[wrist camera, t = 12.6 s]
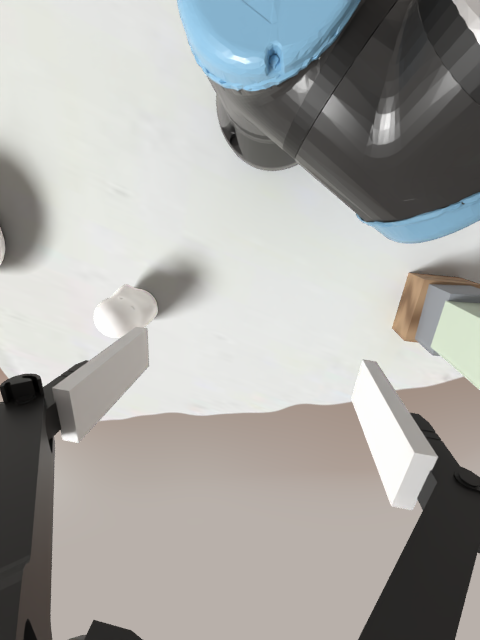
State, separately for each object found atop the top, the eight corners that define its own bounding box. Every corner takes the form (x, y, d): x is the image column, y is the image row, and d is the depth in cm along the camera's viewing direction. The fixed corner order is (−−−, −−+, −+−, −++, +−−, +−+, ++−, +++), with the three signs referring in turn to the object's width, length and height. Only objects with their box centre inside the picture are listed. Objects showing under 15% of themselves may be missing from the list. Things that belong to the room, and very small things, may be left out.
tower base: (408, 272, 40) (424, 279, 35) (458, 277, 39) (482, 285, 34) (391, 327, 43) (404, 340, 39) (438, 333, 42) (456, 347, 38)
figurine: (170, 300, 47) (135, 325, 36) (148, 330, 50) (110, 361, 39) (137, 274, 46) (91, 292, 35) (117, 306, 49) (69, 331, 38)
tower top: (428, 284, 35) (450, 293, 31) (470, 285, 35) (499, 295, 30) (414, 338, 38) (432, 355, 34) (453, 341, 38) (476, 358, 33)
